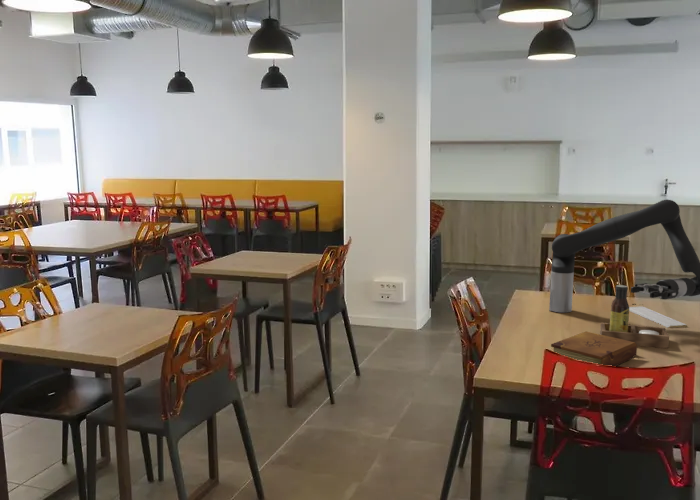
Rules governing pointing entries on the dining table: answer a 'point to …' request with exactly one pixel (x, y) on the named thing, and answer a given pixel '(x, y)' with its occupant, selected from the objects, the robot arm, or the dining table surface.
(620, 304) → the sauce bottle
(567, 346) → the diary
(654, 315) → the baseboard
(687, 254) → the robot arm
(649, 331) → the white oval piece
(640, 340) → the caddy
